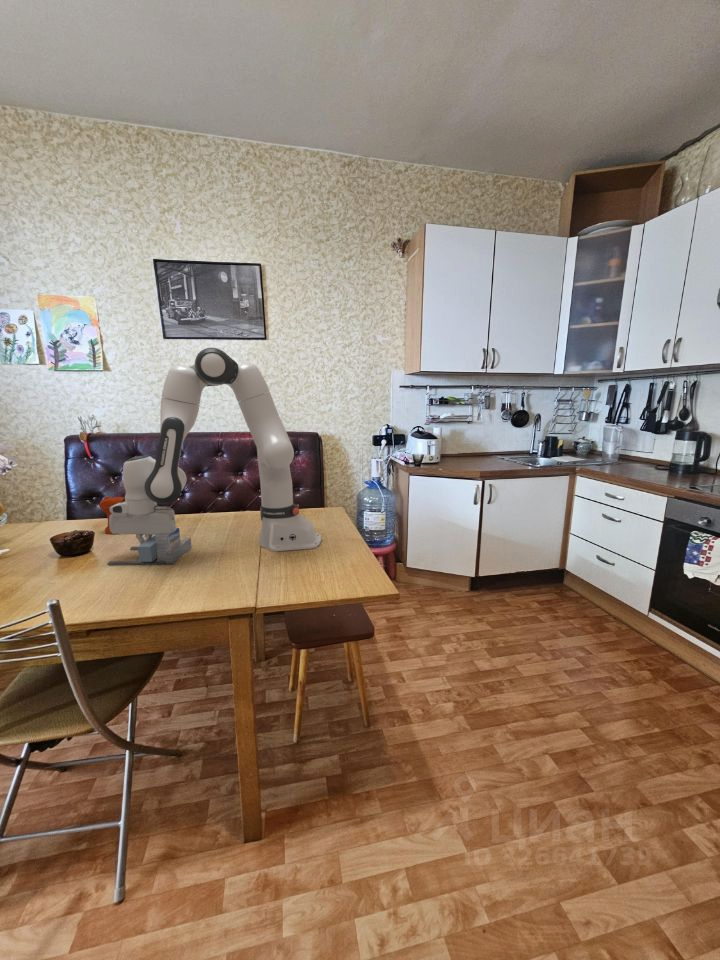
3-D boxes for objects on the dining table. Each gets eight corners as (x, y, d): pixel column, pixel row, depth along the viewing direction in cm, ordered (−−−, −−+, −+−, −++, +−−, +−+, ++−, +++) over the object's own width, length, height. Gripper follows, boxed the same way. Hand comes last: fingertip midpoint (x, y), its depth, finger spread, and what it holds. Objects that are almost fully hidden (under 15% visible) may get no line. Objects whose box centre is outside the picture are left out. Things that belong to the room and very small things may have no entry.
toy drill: (148, 531, 149) (139, 493, 146) (102, 536, 150) (92, 499, 147) (156, 527, 154) (147, 490, 151) (111, 532, 155) (101, 496, 152)
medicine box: (171, 561, 125) (168, 535, 123) (157, 561, 125) (154, 535, 123) (181, 551, 133) (179, 527, 131) (168, 551, 133) (166, 527, 131)
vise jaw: (172, 545, 135) (171, 531, 134) (152, 561, 122) (150, 546, 121) (161, 545, 135) (159, 531, 134) (139, 561, 122) (137, 546, 121)
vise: (191, 548, 136) (190, 537, 135) (172, 565, 122) (171, 553, 121) (132, 548, 136) (131, 537, 135) (107, 565, 122) (105, 553, 121)
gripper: (178, 504, 129) (181, 543, 131) (116, 502, 128) (120, 542, 131) (169, 509, 122) (172, 550, 125) (104, 507, 122) (108, 549, 125)
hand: (145, 546), depth 128 cm, fingers closed
